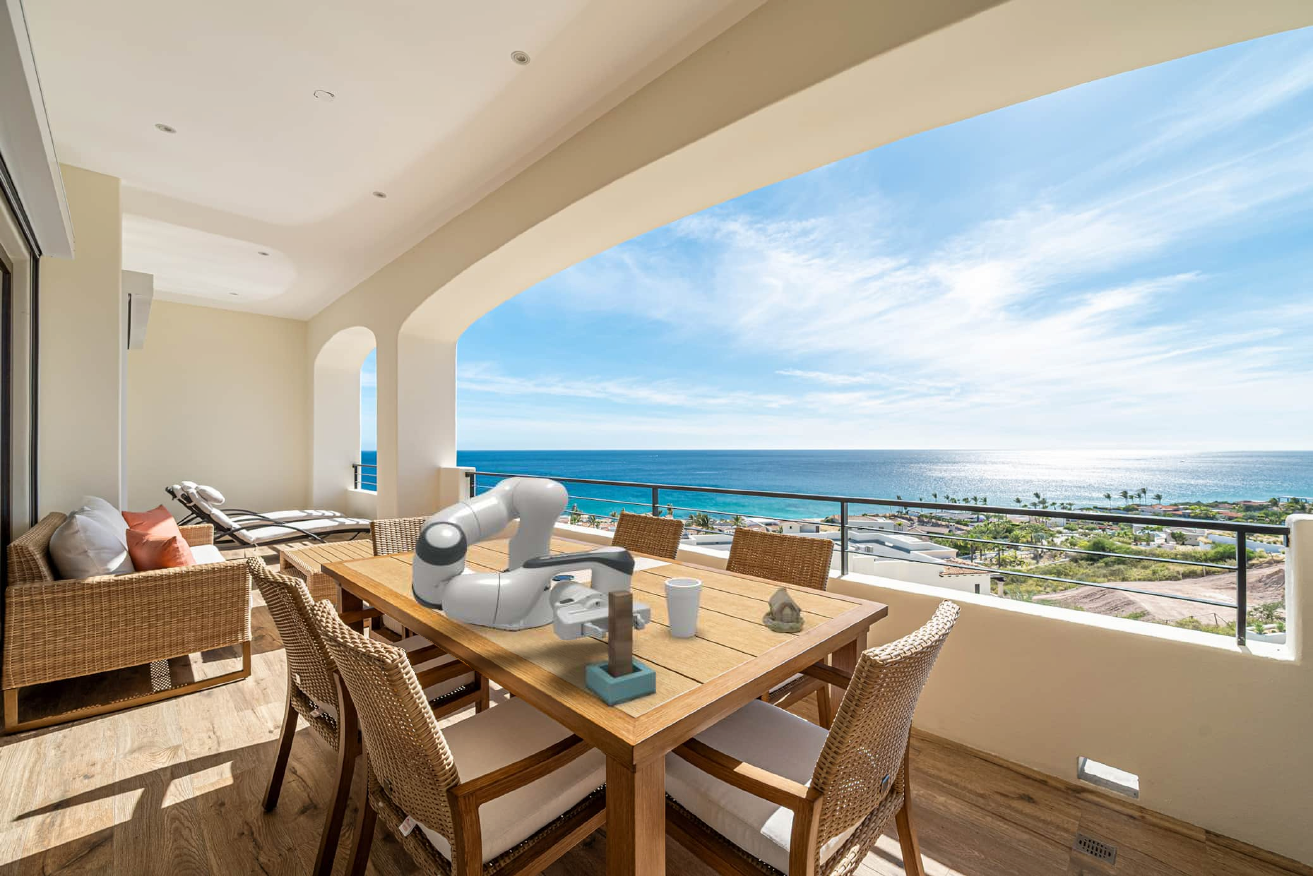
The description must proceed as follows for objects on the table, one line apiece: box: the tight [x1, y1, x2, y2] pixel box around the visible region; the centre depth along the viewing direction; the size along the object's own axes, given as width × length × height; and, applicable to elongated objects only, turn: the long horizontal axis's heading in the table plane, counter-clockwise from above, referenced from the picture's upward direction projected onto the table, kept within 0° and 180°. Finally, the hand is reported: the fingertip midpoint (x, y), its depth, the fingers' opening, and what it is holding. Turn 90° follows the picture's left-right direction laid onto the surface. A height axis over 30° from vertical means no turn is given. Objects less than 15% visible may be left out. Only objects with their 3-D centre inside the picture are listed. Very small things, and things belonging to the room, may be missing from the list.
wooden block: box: [607, 590, 634, 678], centre depth 105 cm, size 4×4×18 cm
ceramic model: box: [762, 586, 805, 633], centre depth 144 cm, size 14×11×10 cm
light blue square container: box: [585, 656, 657, 707], centre depth 105 cm, size 10×10×4 cm
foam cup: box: [664, 577, 703, 639], centre depth 136 cm, size 10×9×13 cm
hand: (622, 630), depth 104 cm, fingers open, 7 cm apart
